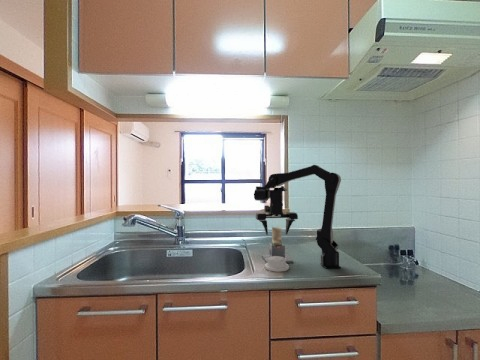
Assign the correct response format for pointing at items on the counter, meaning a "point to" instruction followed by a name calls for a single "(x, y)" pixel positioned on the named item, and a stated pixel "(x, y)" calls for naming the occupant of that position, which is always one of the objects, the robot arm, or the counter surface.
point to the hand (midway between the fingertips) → (276, 234)
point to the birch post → (276, 236)
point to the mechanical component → (276, 264)
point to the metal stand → (277, 253)
